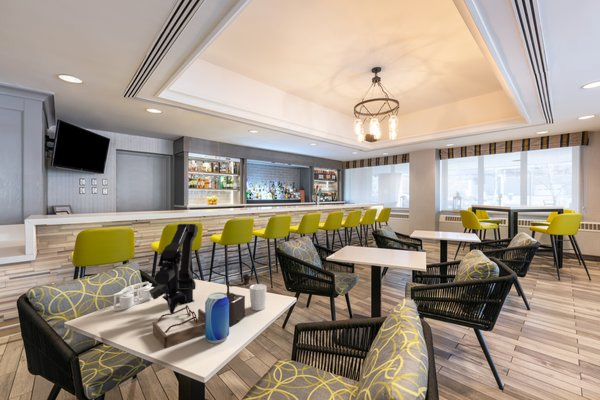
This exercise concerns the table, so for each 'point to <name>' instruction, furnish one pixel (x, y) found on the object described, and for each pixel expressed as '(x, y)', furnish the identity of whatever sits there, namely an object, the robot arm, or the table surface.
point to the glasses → (182, 322)
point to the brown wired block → (180, 333)
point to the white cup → (258, 296)
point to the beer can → (217, 317)
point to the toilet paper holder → (132, 296)
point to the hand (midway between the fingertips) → (171, 312)
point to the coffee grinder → (236, 302)
